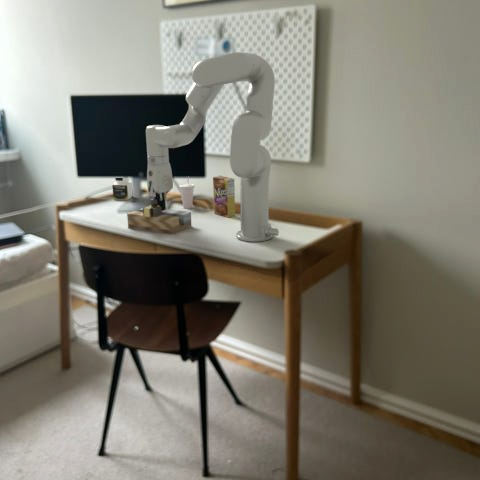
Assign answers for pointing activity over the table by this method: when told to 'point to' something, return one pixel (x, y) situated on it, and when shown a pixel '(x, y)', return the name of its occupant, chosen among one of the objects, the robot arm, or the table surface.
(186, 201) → the smoothie
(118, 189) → the medicine bottle
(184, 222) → the lock frame
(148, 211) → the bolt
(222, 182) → the candy box
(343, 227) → the table surface
